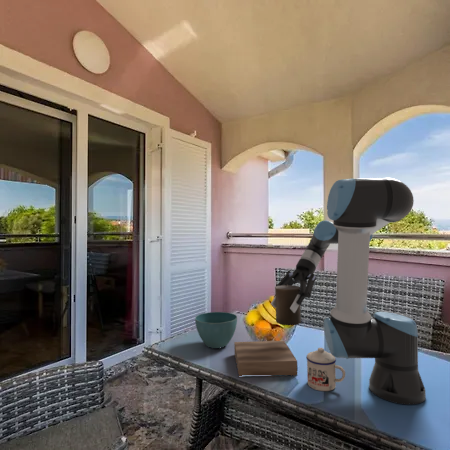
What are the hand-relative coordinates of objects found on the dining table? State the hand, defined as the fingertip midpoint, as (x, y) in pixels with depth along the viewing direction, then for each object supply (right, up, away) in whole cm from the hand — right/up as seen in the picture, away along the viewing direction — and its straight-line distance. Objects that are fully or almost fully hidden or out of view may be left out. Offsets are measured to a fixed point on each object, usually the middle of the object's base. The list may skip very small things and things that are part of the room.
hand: (282, 308), depth 126 cm
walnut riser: (-8, -19, -6) cm, 22 cm away
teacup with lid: (+10, -19, -23) cm, 31 cm away
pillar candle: (+3, -6, +2) cm, 7 cm away
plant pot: (-26, -20, +15) cm, 36 cm away
